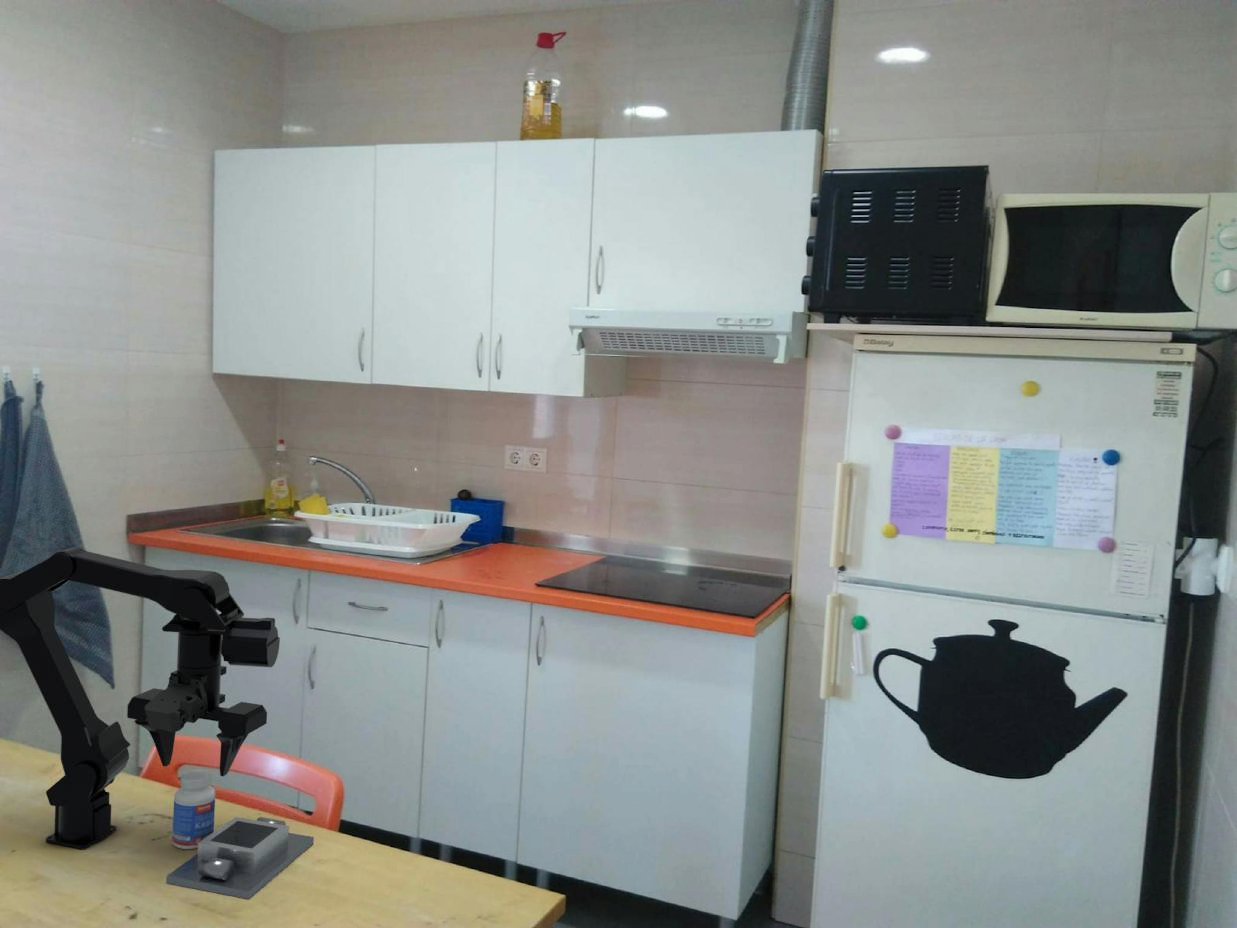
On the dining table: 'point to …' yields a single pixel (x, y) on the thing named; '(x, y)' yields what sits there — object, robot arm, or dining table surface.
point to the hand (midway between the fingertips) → (194, 770)
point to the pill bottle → (193, 809)
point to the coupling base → (241, 857)
